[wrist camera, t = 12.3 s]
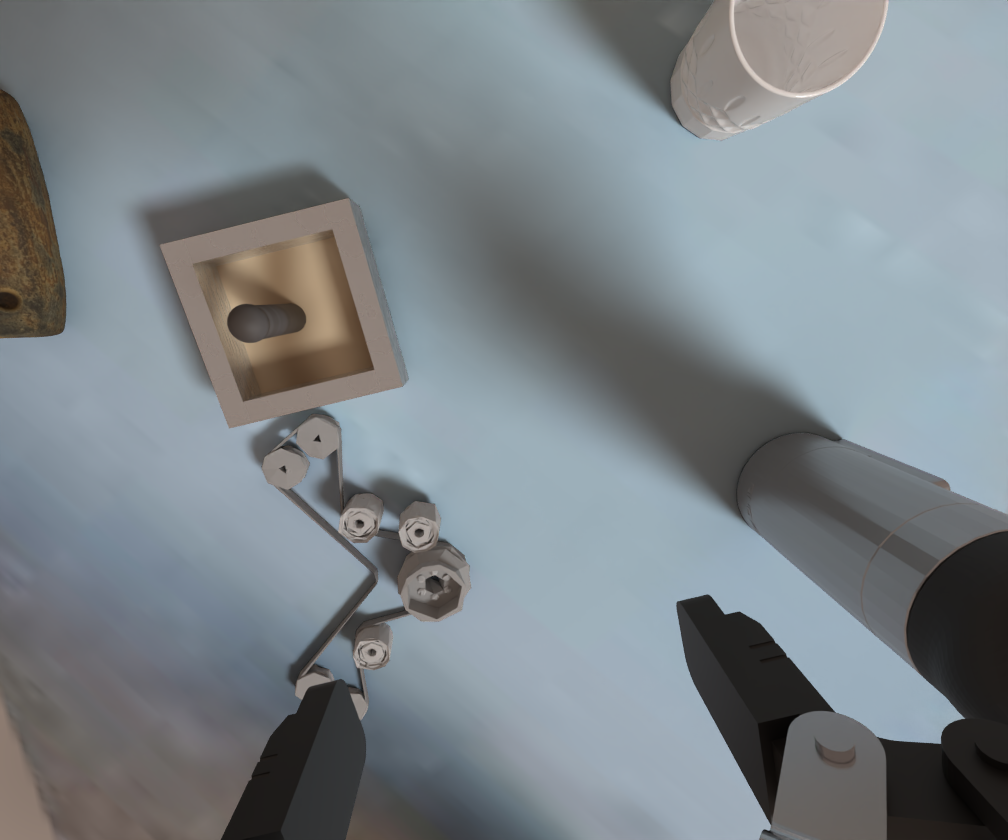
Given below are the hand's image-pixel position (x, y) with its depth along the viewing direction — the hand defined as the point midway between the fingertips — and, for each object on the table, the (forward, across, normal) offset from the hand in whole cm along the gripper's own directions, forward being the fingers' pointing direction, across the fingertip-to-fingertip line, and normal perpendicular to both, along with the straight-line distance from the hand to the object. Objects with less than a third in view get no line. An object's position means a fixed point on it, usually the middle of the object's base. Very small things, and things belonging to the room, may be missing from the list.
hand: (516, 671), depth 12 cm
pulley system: (+29, +12, +11) cm, 33 cm away
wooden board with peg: (+28, +12, -10) cm, 32 cm away
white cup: (+28, -20, -18) cm, 39 cm away
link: (+27, +11, -10) cm, 31 cm away
